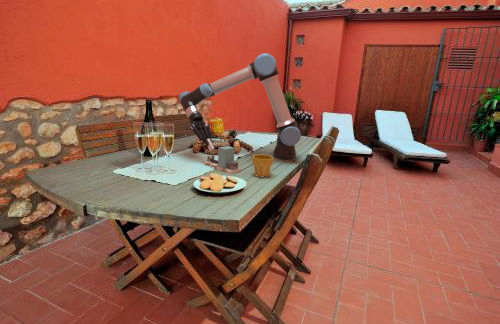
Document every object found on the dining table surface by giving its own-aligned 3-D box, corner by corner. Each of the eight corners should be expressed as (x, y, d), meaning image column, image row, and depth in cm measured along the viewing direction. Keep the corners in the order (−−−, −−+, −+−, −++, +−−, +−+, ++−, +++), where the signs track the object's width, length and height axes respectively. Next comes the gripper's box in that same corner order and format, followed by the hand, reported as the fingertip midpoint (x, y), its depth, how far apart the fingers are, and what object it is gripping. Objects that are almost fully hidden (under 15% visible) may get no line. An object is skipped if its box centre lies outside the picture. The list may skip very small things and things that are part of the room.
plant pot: (247, 175, 140) (248, 156, 138) (257, 171, 149) (258, 153, 147) (266, 180, 136) (268, 160, 133) (275, 175, 145) (276, 156, 142)
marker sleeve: (218, 165, 148) (218, 147, 145) (227, 163, 153) (228, 146, 150) (224, 168, 145) (225, 149, 142) (233, 166, 149) (234, 147, 147)
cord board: (203, 164, 156) (203, 155, 154) (214, 162, 161) (214, 153, 160) (229, 174, 141) (230, 164, 140) (241, 171, 147) (241, 162, 145)
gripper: (200, 119, 169) (218, 152, 162) (182, 120, 159) (199, 155, 153) (206, 111, 164) (224, 144, 157) (187, 111, 154) (205, 147, 148)
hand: (212, 149), depth 155 cm, fingers closed
